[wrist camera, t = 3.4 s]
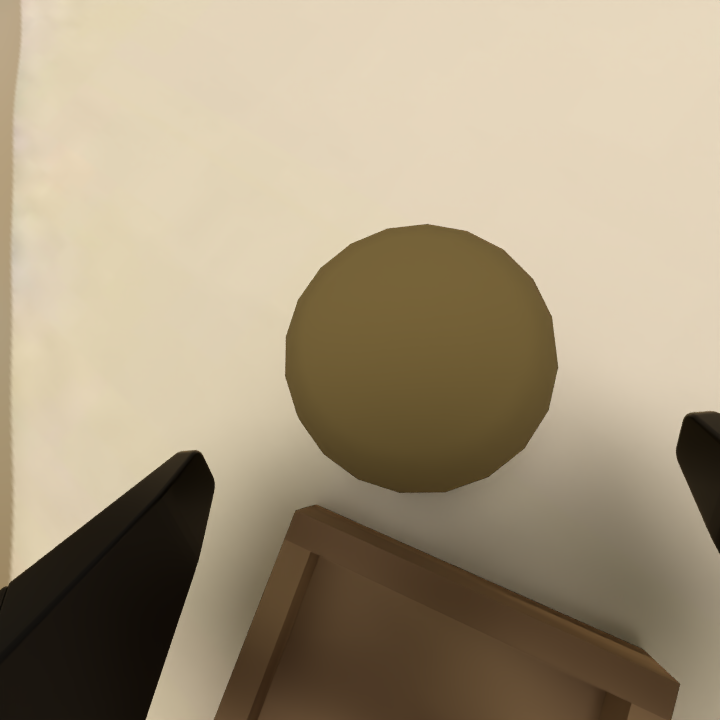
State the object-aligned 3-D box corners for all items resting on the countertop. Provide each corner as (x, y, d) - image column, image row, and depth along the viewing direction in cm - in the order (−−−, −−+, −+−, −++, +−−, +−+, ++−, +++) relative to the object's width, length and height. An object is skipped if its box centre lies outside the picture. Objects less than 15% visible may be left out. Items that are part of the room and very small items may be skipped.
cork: (330, 383, 19) (185, 281, 9) (458, 310, 19) (472, 108, 8) (402, 520, 17) (332, 603, 7) (544, 441, 17) (702, 401, 6)
